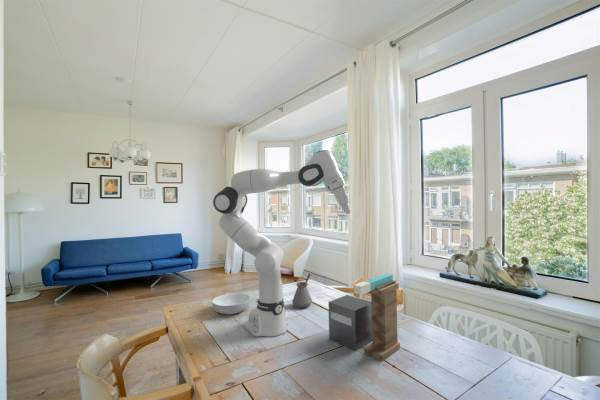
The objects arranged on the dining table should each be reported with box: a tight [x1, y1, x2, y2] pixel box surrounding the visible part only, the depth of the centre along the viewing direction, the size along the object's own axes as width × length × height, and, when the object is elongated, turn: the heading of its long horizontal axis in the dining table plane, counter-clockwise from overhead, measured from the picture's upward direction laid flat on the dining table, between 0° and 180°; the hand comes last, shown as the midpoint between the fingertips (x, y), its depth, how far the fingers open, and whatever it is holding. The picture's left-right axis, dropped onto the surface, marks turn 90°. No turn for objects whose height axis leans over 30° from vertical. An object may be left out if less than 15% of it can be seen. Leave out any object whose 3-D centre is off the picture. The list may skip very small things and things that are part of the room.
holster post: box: [363, 279, 401, 362], centre depth 111 cm, size 8×13×27 cm, turn 132°
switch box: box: [328, 294, 372, 352], centre depth 120 cm, size 14×13×16 cm
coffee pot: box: [291, 273, 313, 309], centre depth 165 cm, size 21×12×15 cm, turn 160°
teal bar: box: [353, 273, 394, 296], centre depth 108 cm, size 3×22×3 cm, turn 132°
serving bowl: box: [212, 292, 252, 315], centre depth 155 cm, size 21×21×7 cm
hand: (347, 212), depth 124 cm, fingers open, 8 cm apart
